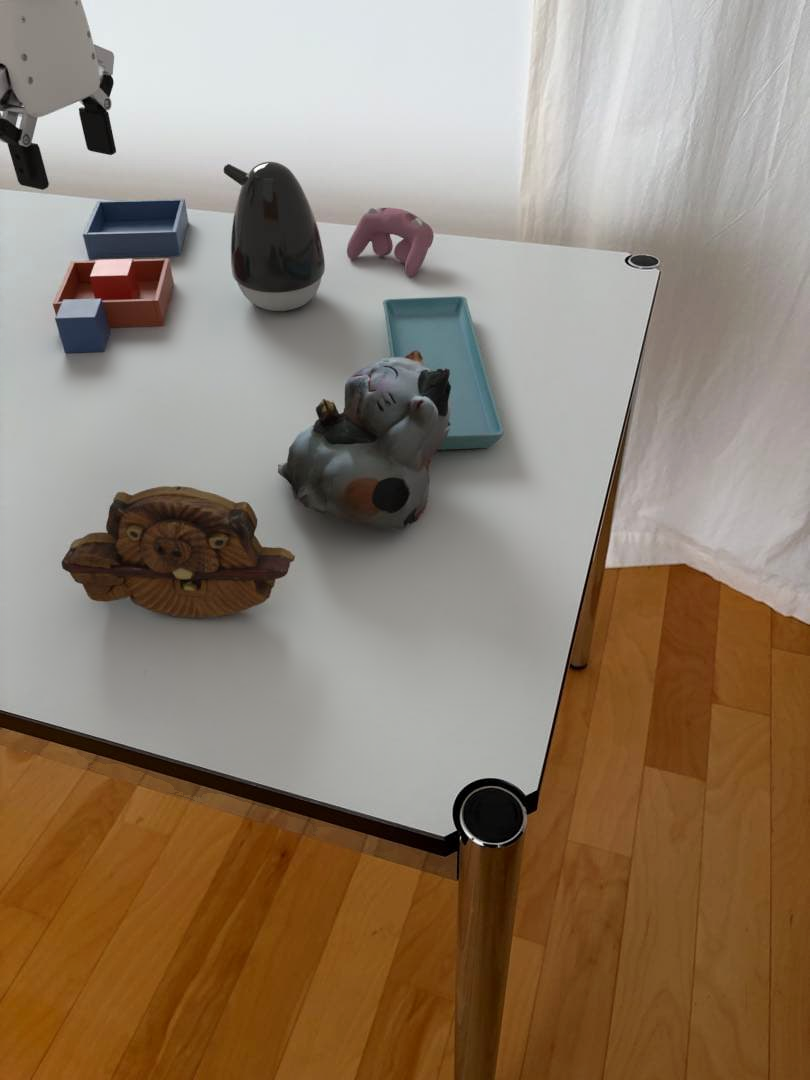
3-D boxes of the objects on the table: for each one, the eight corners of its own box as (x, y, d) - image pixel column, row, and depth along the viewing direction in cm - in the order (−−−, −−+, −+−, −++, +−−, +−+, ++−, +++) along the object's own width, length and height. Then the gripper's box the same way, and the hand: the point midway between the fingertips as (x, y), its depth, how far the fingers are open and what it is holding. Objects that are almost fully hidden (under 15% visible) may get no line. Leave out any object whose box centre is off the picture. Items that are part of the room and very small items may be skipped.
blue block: (64, 353, 93) (54, 318, 90) (72, 333, 96) (62, 299, 93) (103, 351, 93) (95, 317, 90) (110, 332, 96) (101, 298, 93)
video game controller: (428, 280, 108) (443, 220, 106) (410, 277, 105) (425, 215, 102) (360, 260, 112) (373, 202, 110) (341, 256, 108) (354, 196, 106)
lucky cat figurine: (270, 455, 80) (319, 305, 76) (393, 489, 84) (448, 349, 80) (285, 523, 67) (347, 347, 62) (431, 560, 71) (499, 397, 66)
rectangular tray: (382, 315, 99) (382, 295, 97) (464, 312, 100) (465, 292, 98) (401, 461, 80) (401, 438, 78) (503, 456, 81) (505, 434, 79)
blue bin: (88, 258, 109) (82, 234, 107) (102, 223, 116) (97, 200, 114) (180, 255, 110) (176, 232, 108) (188, 221, 117) (184, 198, 115)
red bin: (59, 329, 97) (52, 303, 94) (77, 285, 104) (71, 261, 102) (163, 325, 97) (158, 300, 95) (173, 282, 104) (169, 258, 102)
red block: (97, 310, 99) (89, 276, 96) (104, 293, 101) (96, 259, 99) (134, 309, 99) (127, 275, 96) (140, 291, 102) (132, 258, 99)
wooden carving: (69, 628, 65) (31, 526, 58) (86, 583, 69) (52, 482, 62) (296, 629, 65) (285, 527, 59) (301, 584, 69) (291, 482, 62)
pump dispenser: (261, 272, 106) (246, 139, 96) (341, 288, 104) (335, 153, 93) (217, 311, 99) (196, 173, 89) (302, 329, 97) (291, 188, 86)
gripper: (54, -60, 82) (97, 134, 94) (-96, -23, 71) (-27, 193, 82) (120, -53, 80) (155, 146, 92) (-24, -13, 68) (37, 208, 80)
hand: (69, 168), depth 87 cm, fingers open, 9 cm apart
